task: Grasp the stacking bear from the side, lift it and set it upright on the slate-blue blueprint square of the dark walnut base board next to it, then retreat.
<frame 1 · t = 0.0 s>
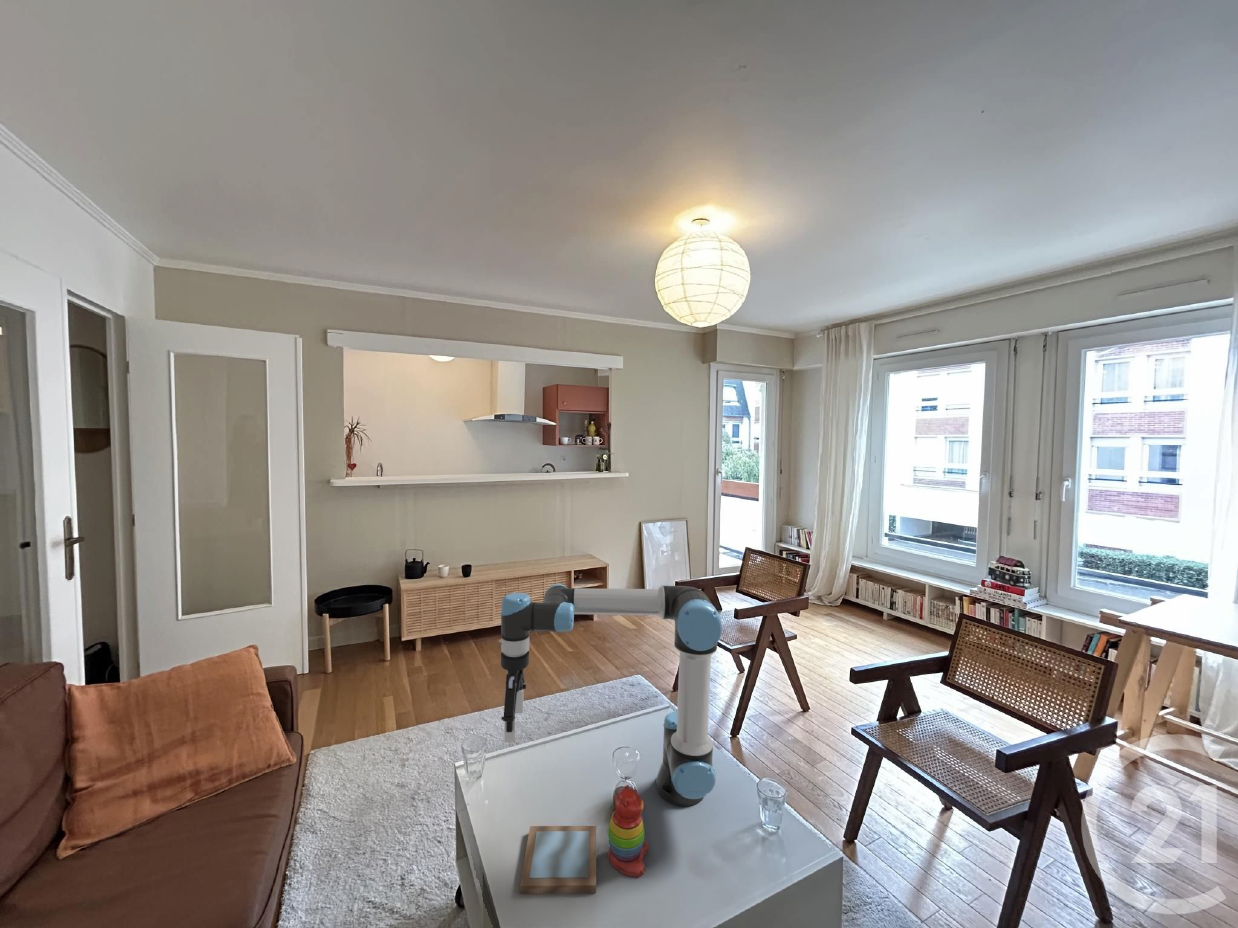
hand: (514, 726, 140), 28 cm above the table, fingers open, 13 cm apart
stacking bear: (627, 857, 131), on the table
base board: (560, 860, 130), on the table
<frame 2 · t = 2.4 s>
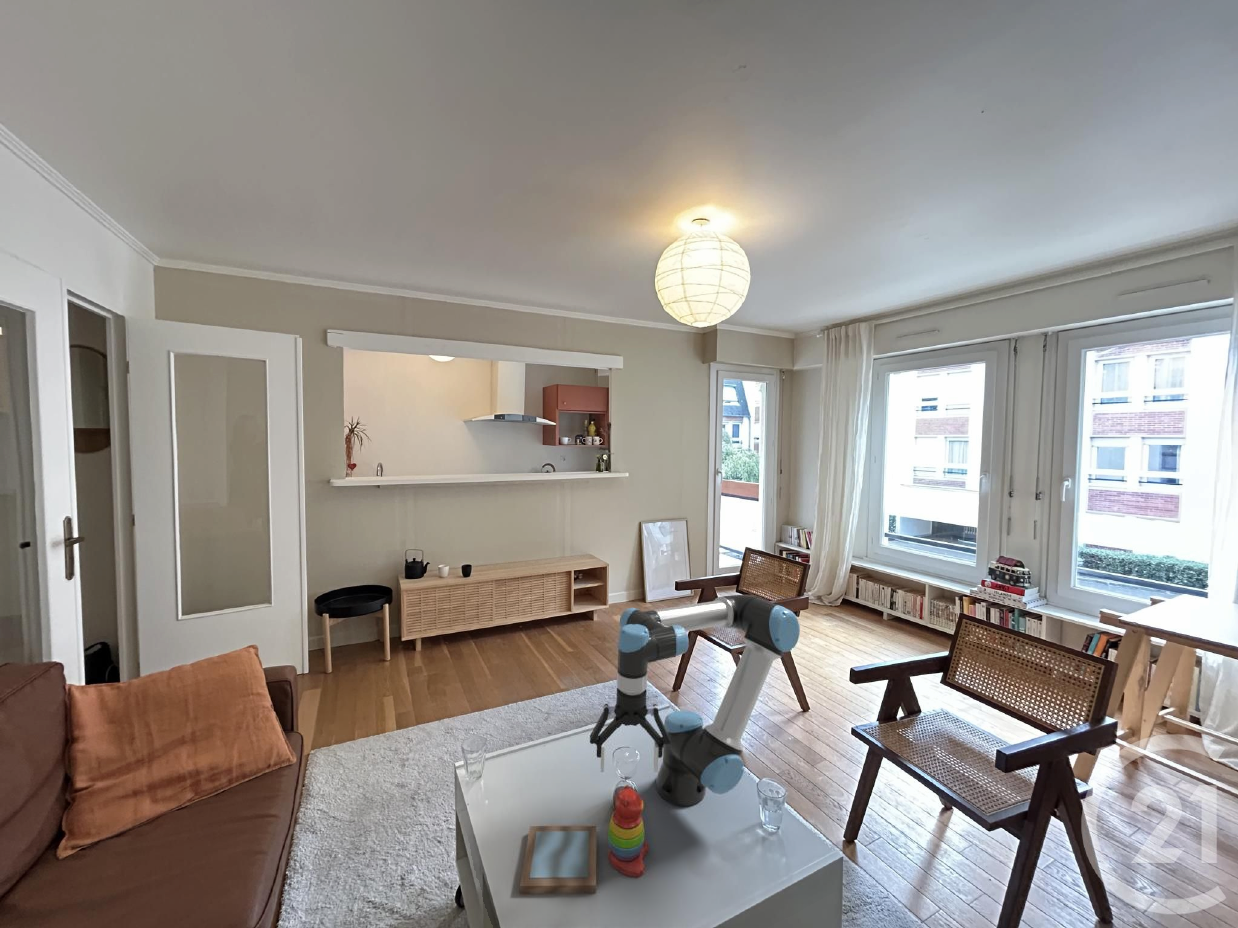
hand: (628, 768, 129), 24 cm above the table, fingers open, 13 cm apart
nothing on the table moved.
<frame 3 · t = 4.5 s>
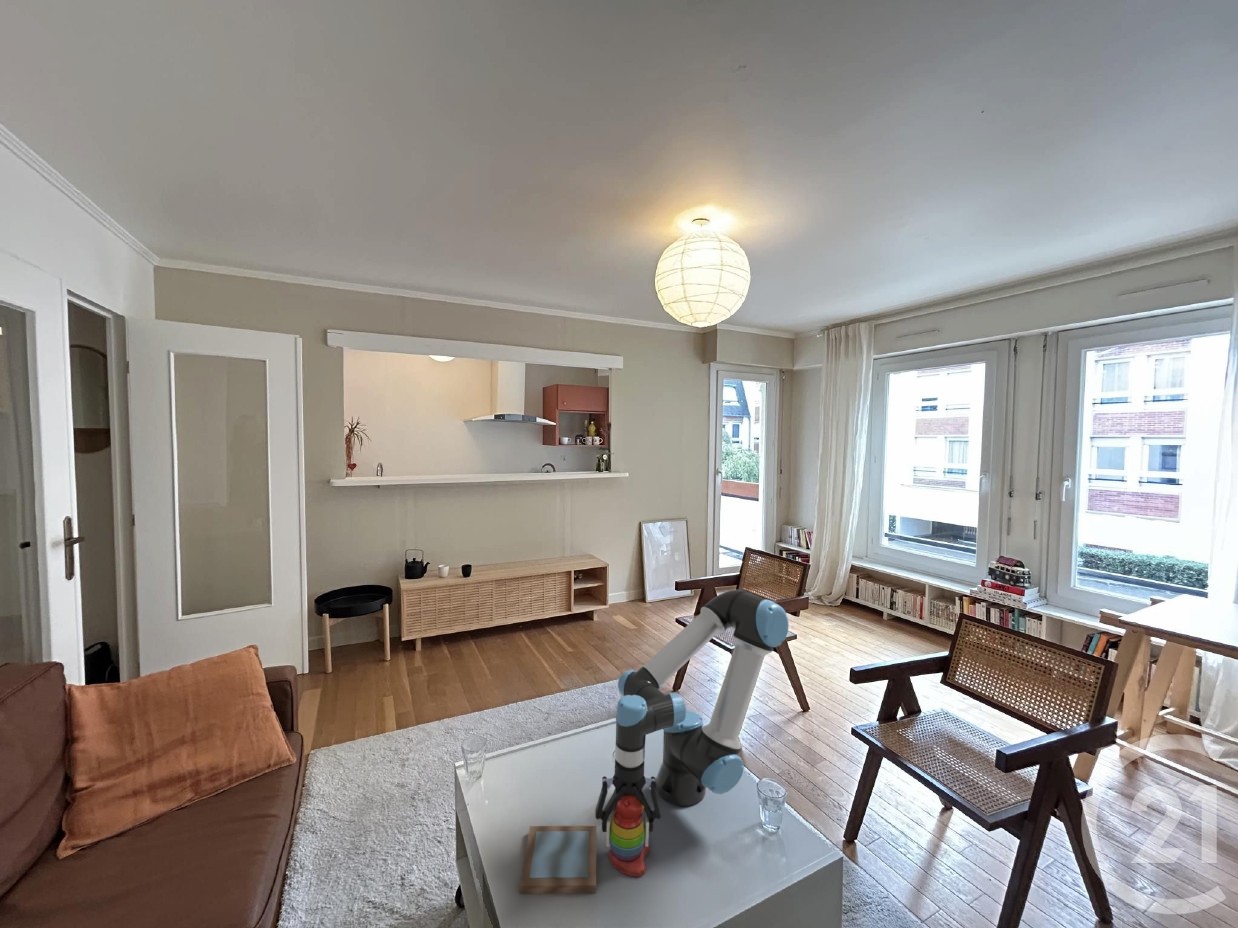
hand: (626, 841, 131), 4 cm above the table, fingers closed on stacking bear, 9 cm apart
stacking bear: (627, 857, 131), on the table, touching gripper
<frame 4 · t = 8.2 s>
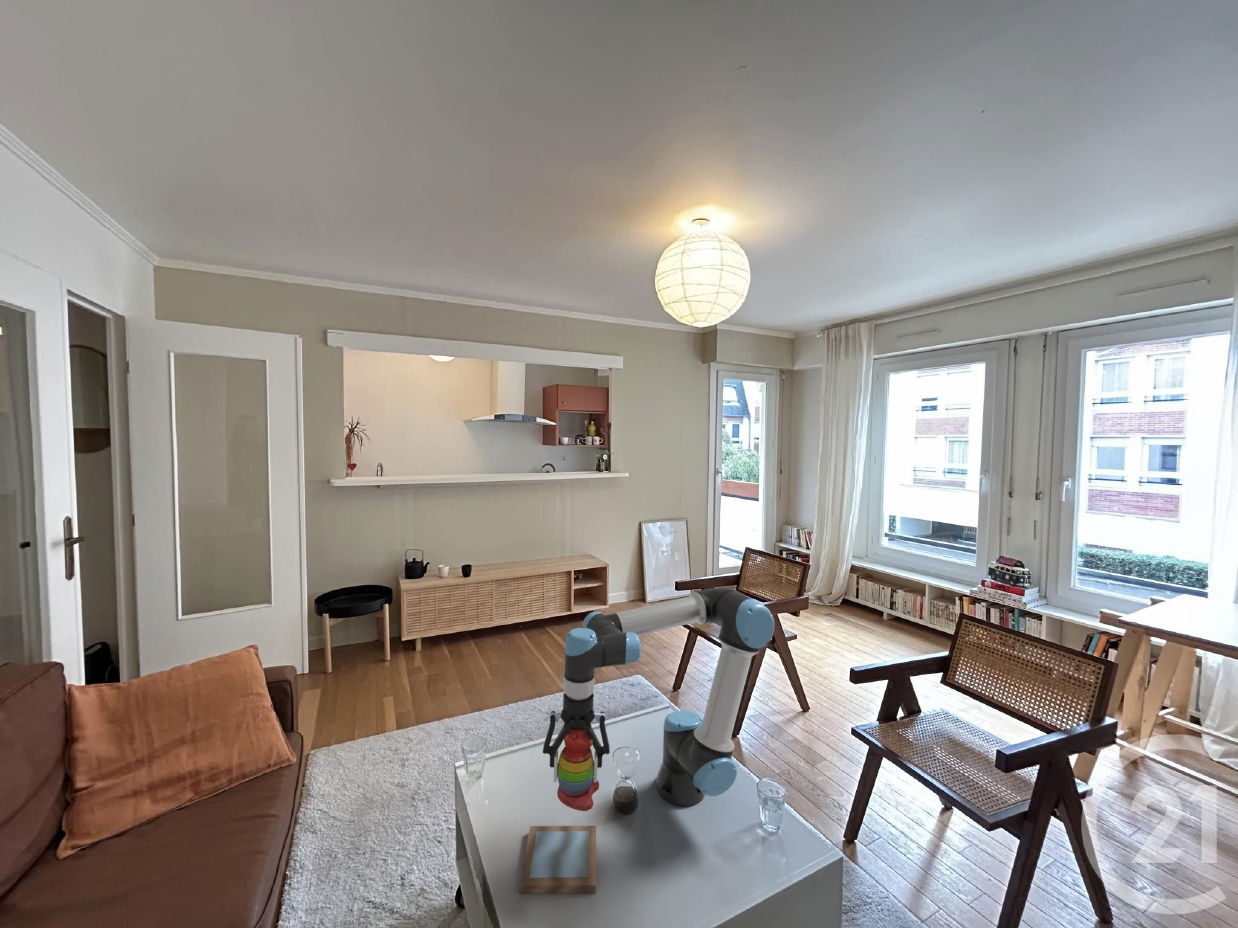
hand: (575, 778, 128), 22 cm above the table, fingers closed on stacking bear, 9 cm apart
stacking bear: (576, 794, 128), point 18 cm above the table, touching gripper
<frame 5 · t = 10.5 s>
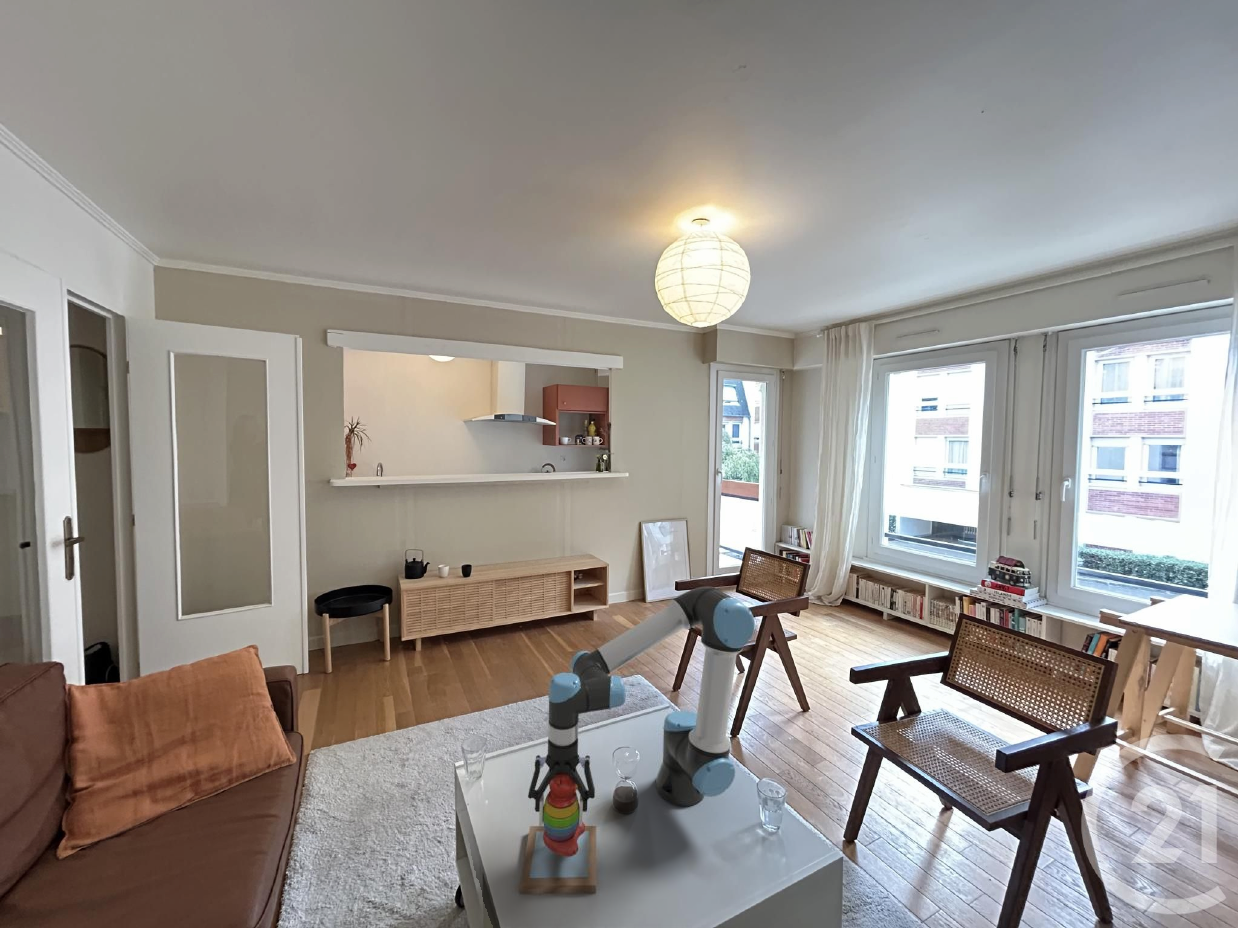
hand: (561, 822, 129), 10 cm above the table, fingers closed on stacking bear, 9 cm apart
stacking bear: (562, 838, 129), point 6 cm above the table, touching gripper
when the fingers open (7 cm above the table, at t = 12.2 s): stacking bear stays where it is, resting on base board.
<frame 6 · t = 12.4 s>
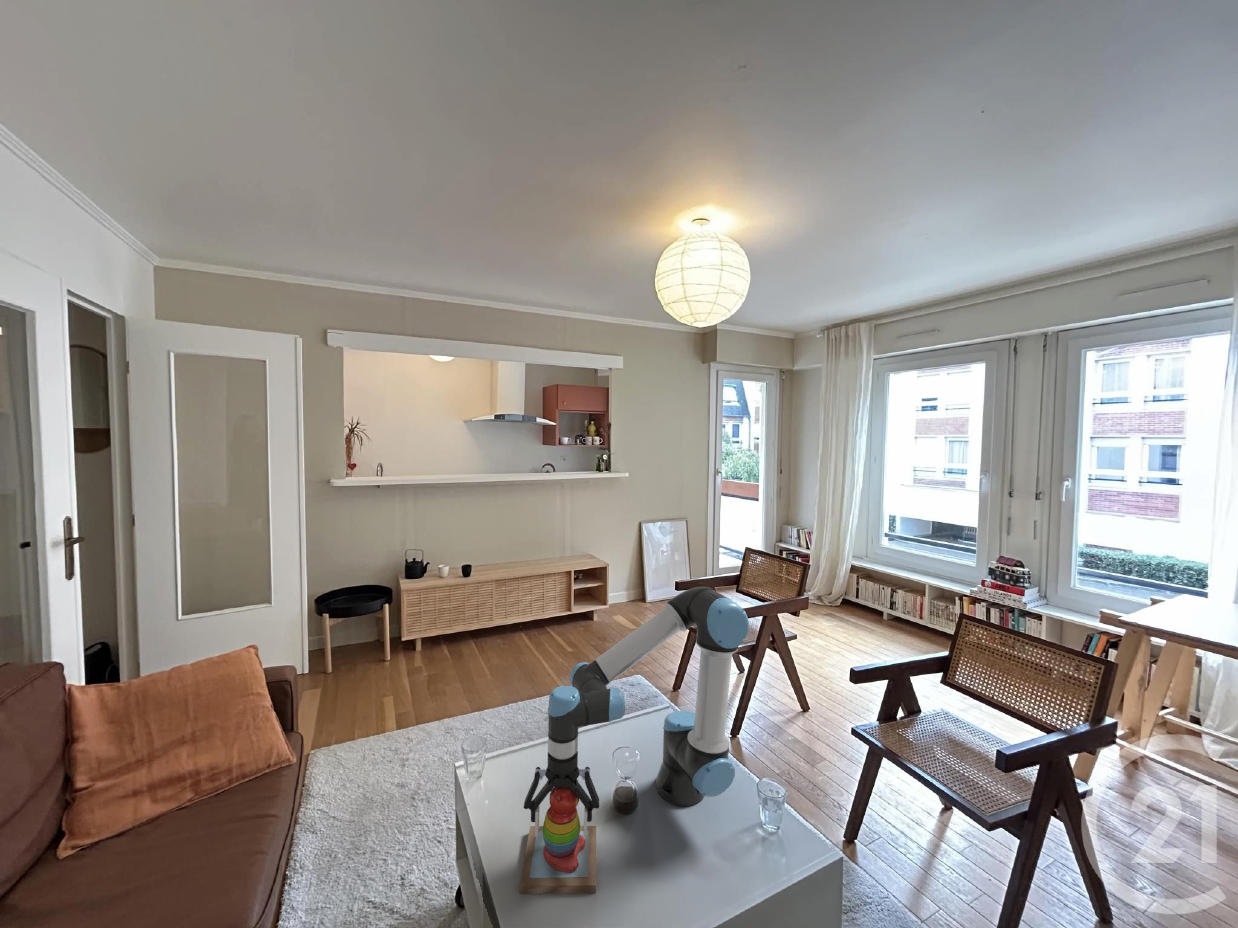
hand: (561, 832, 129), 8 cm above the table, fingers open, 11 cm apart
stacking bear: (562, 853, 129), point 2 cm above the table, touching base board
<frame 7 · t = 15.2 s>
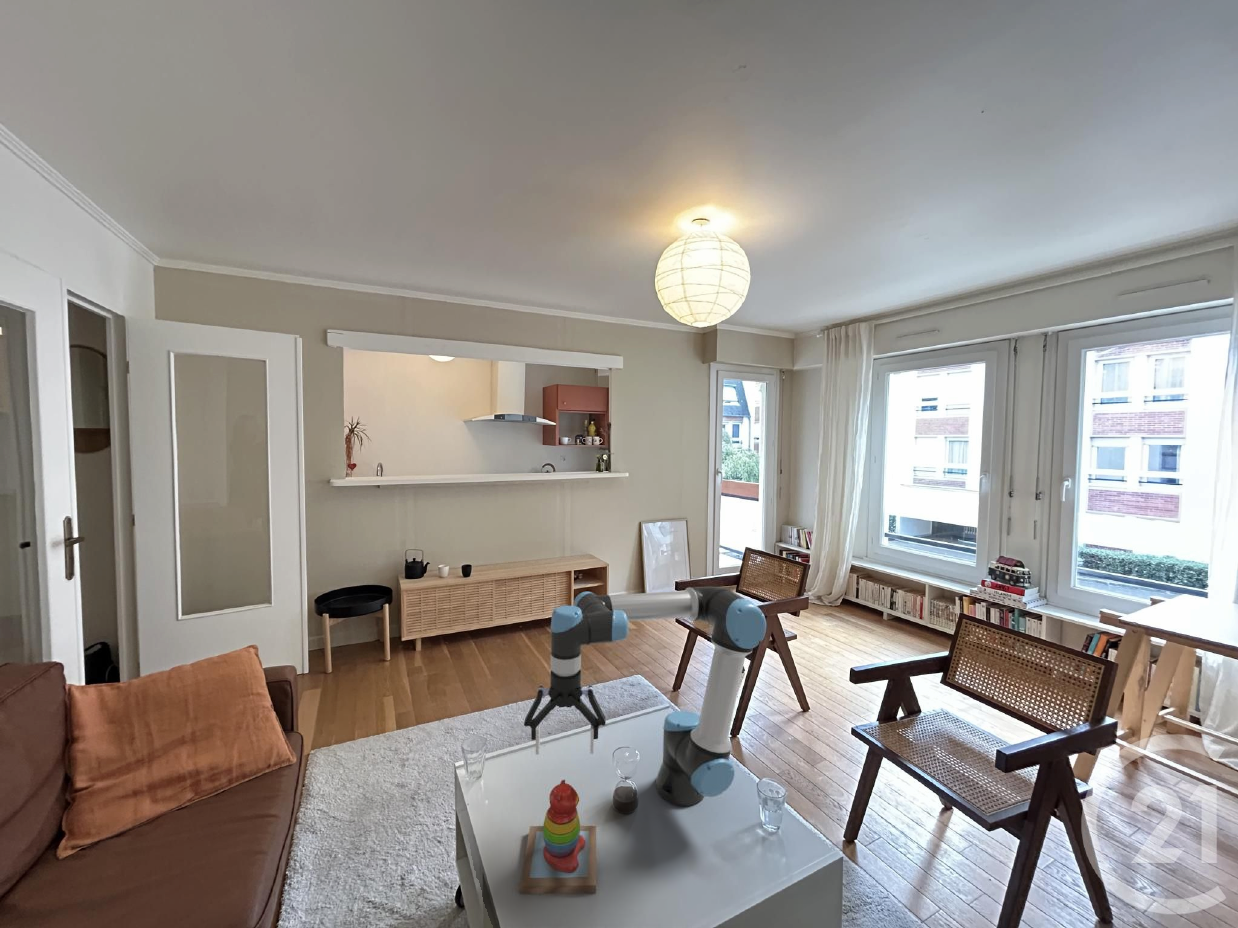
hand: (564, 750, 128), 29 cm above the table, fingers open, 13 cm apart
nothing on the table moved.
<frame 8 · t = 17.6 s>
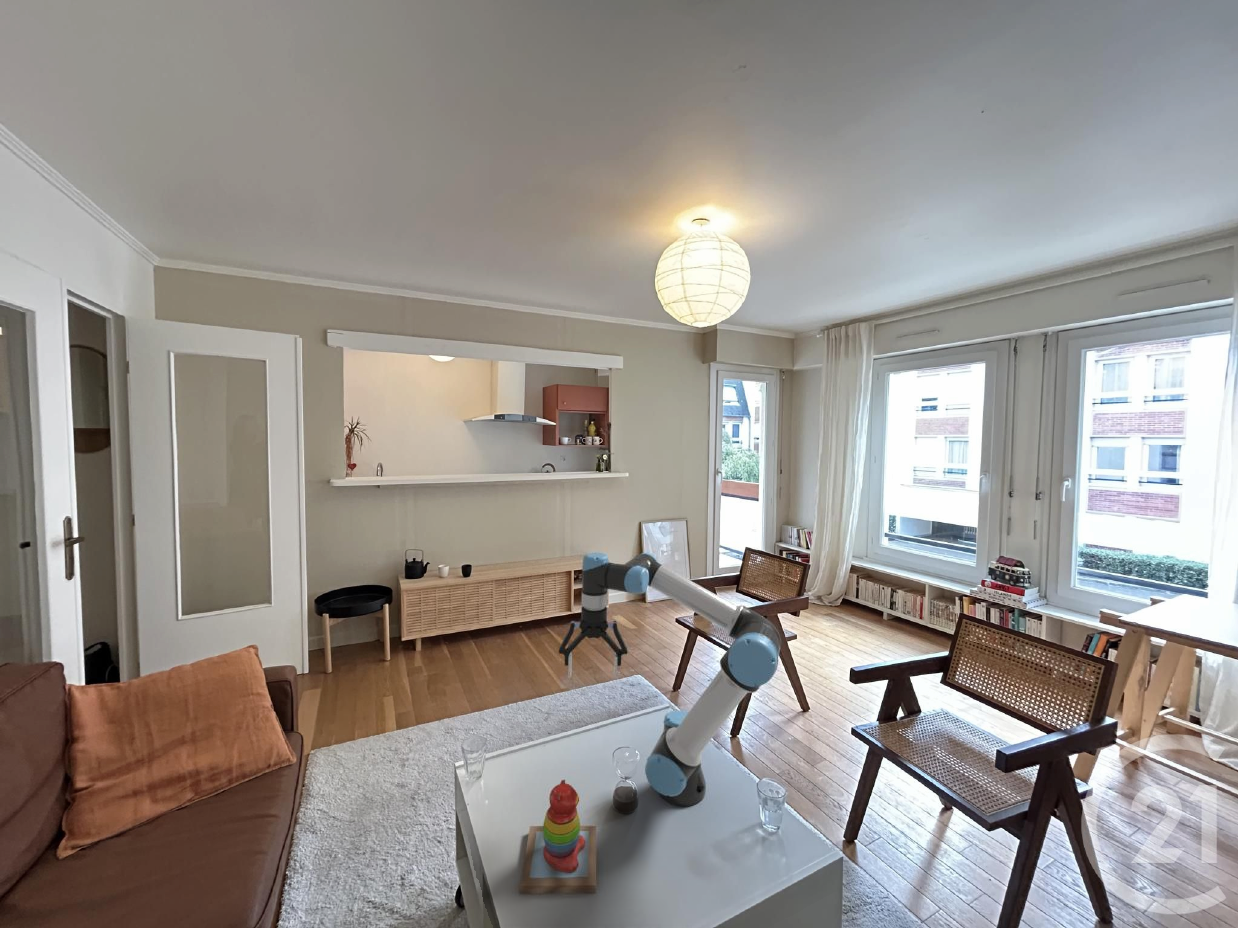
hand: (592, 675, 151), 37 cm above the table, fingers open, 13 cm apart
nothing on the table moved.
at the end: stacking bear inside the target area on the base board (0.4 cm from its centre), point 1.9 cm above the base board's base; stacking bear tilted 0°; stacking bear touching base board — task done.
